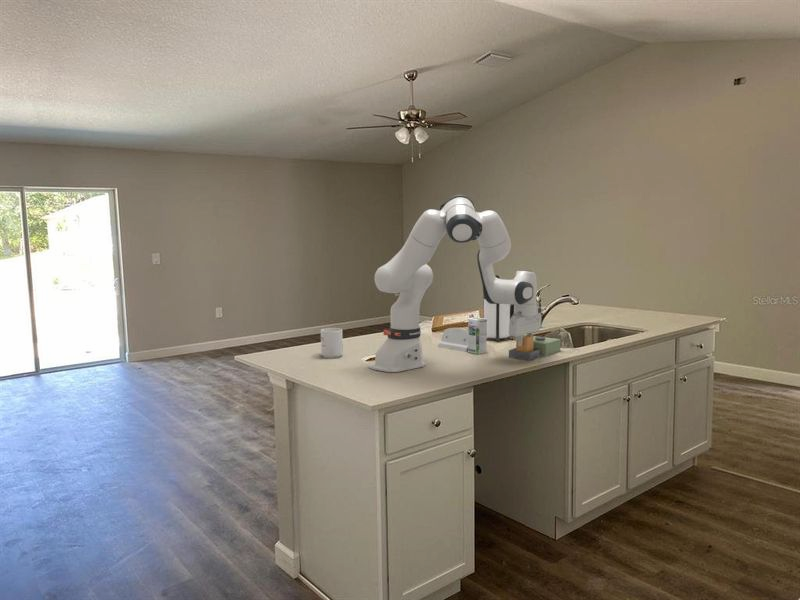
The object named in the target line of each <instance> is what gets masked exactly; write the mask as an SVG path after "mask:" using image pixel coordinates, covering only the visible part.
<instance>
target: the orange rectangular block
mask: <svg viewBox="0 0 800 600" xmlns="http://www.w3.org/2000/svg"><path fill="white" fill-rule="evenodd" d="M534 336H535V335H533V336H528V334H525V335H523V338H522V340H523V341H524V345H523V346H518V340H517V338H515V339H516V340H515V341H516V343H515V346H516V347H515V348H516V351H523V352H531V351H533V342H534Z"/></svg>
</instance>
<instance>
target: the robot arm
mask: <svg viewBox="0 0 800 600" xmlns="http://www.w3.org/2000/svg"><path fill="white" fill-rule="evenodd" d="M439 207H440V208H439V209H438V210H437V209H434V208H433V209H430V208H429V209H427V210H425V211H423V213H422V214H421V215H420V216H419V218H418V219H417V221H416V222H415V223H414V225H413V228H412V230H411V231H410V234H409V235H408V237H407V239H406V241H405V243H404V245H403V246H402V247H401V249H400V250H399V251H398V252H397V253H396V254H395V255H394V256H393V257H392V258H391V259H390V260H389V261H387V263H385V264H383V265H382V266H380V267H378V268H377V270H376V271H375V274H374V283H375V287H376V288H377V289H378V290H379V291H380V292H383V293H389V294H396V293H399V295H398V298H397V300H396V301H395V302H394V303H392V305H391V307H390V327H389V329H388V330H387V329H384V330H383V332H382V333H383V336H387V338H386V340H385V341H384V342H383V343H382V344H381V346H380V347H379V348H378V349H377V350H376V353H375V357H374V358H375V360H374V362H372V363H369V365H368V368H370V369H372V370H375V371H380V372H386V373H387V372H388V373H398V372H403V371H408V370H412V369H413V370H414V369H419V368H423V367H425V366H426V363H425V362H424V356H423V348H422V347H423V346H422V342H421V339H420V337H421V333H422V332H421V327H420V308H421V304H422V299H423V297H424V295H425V293H426V291H427V290H428V288H429V287H430V286H431V285H432V283H433V280H434V273H433V270H432V268H431V267H430V266H429V265H428V263H429V262H430V261H431V259H432V258H433V256H434V254H435V252H436V251H437V248H438V246H439V244H440V243H441V240H442V239H443V238H444V236H445V235H446V234H447V235H448V237H449V238H450V239H451V240H452V241H453V242H455V243H460V244H464V243H469V242H471V241H476V240H477V242H478V245H479V250H478V252H477V254H476V255H477V256H476V260H477V266H478V271H479V275H480V278H481V279H480V280H481V284H482V285H481V286H482V296H484V298H485V299H486V301H487V302H488V303H490V304H512V305H514V313H513V315H512V317H511V319H510V323H509V336H510V337H516V338H517V340H518V346H523V345H524V341H523V340H522V338H523V335H528V336H534V332H538V331H540V330H541V327H542V313H543V308H542V307H540V306H538V305H537V303H538V301H537V298H536V297H537V292H538V285H537V284H538V283H537V282H538V281H537V275H536V273H535V271H532V270H527V269H519V270H517V271H516V272H515V276H514V278H512V279H503V278H499V279H498V278H496V277H495V276H496V274H495V271H494V266H493V264H495V263H498V262H500V261H502V260H504V258H507V256H508V254H509V253H510V251H511V248H512V242H511V236H509V232H508V230H507V228H506V226H505V223H504V221H503V220H502V218H501V216H500V215H499V214H498V213H497V212H496V211H494V210H487V209H486V210H483V211H481V212H479V211H476V210H475V204H474V202H473V201H472V199H471V198H470V197H468V195H465V194H462V193H461V194H460V193H457V194H455V195H453V196H451V197H450V198H448V199H447V200H446V201H445V202H443V203H442V204H441V205H440V206H439ZM516 338H515V339H516Z"/></svg>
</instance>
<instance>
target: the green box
mask: <svg viewBox="0 0 800 600" xmlns="http://www.w3.org/2000/svg"><path fill="white" fill-rule="evenodd" d="M533 336H534V342H533V348H535V349H541V352H540V357H541V356H542V357H547V356H550V355H553V354H555V353H558V352H560V351H561V338H553V337H547V336H536V335H533Z"/></svg>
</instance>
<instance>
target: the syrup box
mask: <svg viewBox="0 0 800 600" xmlns="http://www.w3.org/2000/svg"><path fill="white" fill-rule="evenodd" d="M467 323H468V326H467V328H468V329H467V330H468V349H467V353H469V354H470V353H471V354H475V355H479V354H484V353H487V348H488V347H487V343H488V341H487V338H488V337H487V319H484V317H469V318H468V322H467Z"/></svg>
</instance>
